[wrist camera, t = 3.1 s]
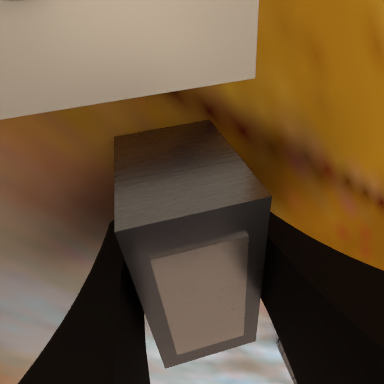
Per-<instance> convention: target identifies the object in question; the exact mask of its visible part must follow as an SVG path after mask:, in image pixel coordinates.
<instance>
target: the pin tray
mask: <svg viewBox="0 0 384 384" xmlns="http://www.w3.org/2000/svg"><path fill="white" fill-rule="evenodd" d="M258 7H259V0H0V120H1V119H7V118H13V117H20V116H26V115H32V114H38V113H44V112H50V111H56V110H63V109H69V108H75V107H81V106H87V105H93V104H99V103H106V102H112V101H118V100H124V99H130V98H136V97H142V96H149V95H155V94H161V93H167V92H173V91H179V90H186V89H192V88H198V87H204V86H210V85H216V84H222V83H229V82H235V81H241V80H247V79H253V78H255V69H256V49H257V28H258Z"/></svg>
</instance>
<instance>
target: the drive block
mask: <svg viewBox="0 0 384 384" xmlns="http://www.w3.org/2000/svg"><path fill="white" fill-rule="evenodd" d="M271 199H272V196H271V195H270V193H269V192H268V191H267V190H266V188H265V187H264V186H263V185H262V184H261V182H260V181H259V180H258V179H257V177H256V176H255V175H254V174H253V172H252V171H251V170H250V169H249V168H248V166H247V165H246V164H245V163H244V161H243V160H242V159H241V158H240V156H239V155H238V154H237V153H236V152H235V150H234V149H233V148H232V147H231V145H230V144H229V143H228V142H227V141H226V139H225V138H224V137H223V136H222V134H221V133H220V132H219V131H218V129H217V128H216V127H215V126H214V125H213V123H212V122H211V121H210V120H205V121H199V122H194V123H188V124H183V125H177V126H171V127H166V128H160V129H155V130H149V131H144V132H138V133H133V134H127V135H122V136H116V137H114V232H115V235H116V238H117V240H118V243H119V246H120V248H121V251H122V254H123V256H124V259H125V262H126V264H127V267H128V270H129V272H130V275H131V278H132V280H133V283H134V286H135V289H136V291H137V294H138V297H139V299H140V302H141V305H142V307H143V310H144V313H145V315H146V318H147V321H148V323H149V326H150V329H151V331H152V334H153V337H154V339H155V342H156V345H157V348H158V350H159V353H160V356H161V358H162V361H163V364H164V366H165V368H169V367H172V366H175V365H178V364H182V363H185V362H188V361H192V360H195V359H198V358H201V357H205V356H208V355H211V354H215V353H218V352H221V351H224V350H228V349H231V348H234V347H238V346H241V345H244V344H247V343H251V342H254V341H256V332H257V323H258V314H259V305H260V297H261V288H262V279H263V270H264V261H265V252H266V243H267V234H268V225H269V217H270V208H271Z"/></svg>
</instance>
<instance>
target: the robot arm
mask: <svg viewBox="0 0 384 384" xmlns="http://www.w3.org/2000/svg"><path fill="white" fill-rule="evenodd" d="M260 298H261V299H262V301H263V303H264V305H265V307H266V309H267V311H268V314H269V316H270V318H271V321H272V323H273V325H274V328H275V330H276V332H277V335H278V337H279V339H280V342H281V344H282V347H283V349H284V352H285V354H286V357H287V359H288V362H289V364H290V367H291V369H292V372H293V374H294V377H295V379H296V382H297V384H384V271H383V270H380V269H378V268H375V267H373V266H370V265H368V264H366V263H363V262H361V261H359V260H356V259H354V258H352V257H349V256H347V255H345V254H343V253H341V252H339V251H337V250H335V249H333V248H331V247H329V246H327V245H325V244H323V243H321V242H319V241H317V240H315V239H313V238H311V237H310V236H308V235H306V234H305V233H303V232H301V231H300V230H298V229H296V228H294V227H293V226H291V225H290V224H288V223H286V222H285V221H283V220H282V219H280V218H279V217H277V216H276V215H274V214H273V213H272V212H270V217H269V225H268V234H267V243H266V252H265V261H264V270H263V279H262V288H261V297H260ZM18 384H150V378H149V370H148V362H147V354H146V343H145V321H144V310H143V307H142V305H141V302H140V299H139V297H138V294H137V291H136V289H135V286H134V283H133V280H132V278H131V275H130V272H129V270H128V267H127V264H126V262H125V259H124V256H123V254H122V251H121V248H120V246H119V243H118V240H117V238H116V235H115V232H114V220H112V221H111V222H110V224H109V227H108V230H107V233H106V236H105V238H104V241H103V244H102V246H101V249H100V251H99V253H98V255H97V258H96V260H95V262H94V264H93V267H92V269H91V271H90V273H89V275H88V277H87V279H86V281H85V283H84V285H83V287H82V288H81V290H80V292H79V294H78V296H77V298H76V299H75V301H74V303H73V305H72V306H71V308H70V310H69V311H68V313H67V315H66V316H65V318H64V320H63V321H62V323H61V324H60V326H59V327H58V329H57V330H56V332H55V333H54V335H53V336H52V338H51V339H50V341H49V342H48V344H47V345H46V347H45V348H44V349H43V351H42V352H41V354H40V355H39V357H38V358H37V359H36V361H35V362H34V363H33V365H32V366H31V367H30V369H29V370H28V371H27V372H26V374H25V375H24V376H23V378H22V379H21V380H20V382H19V383H18Z"/></svg>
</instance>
